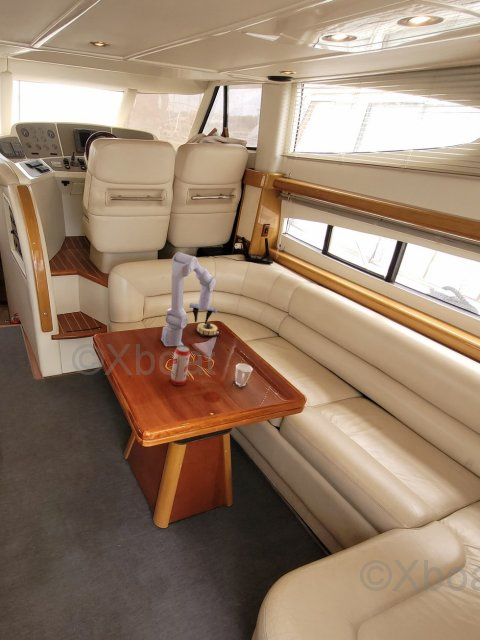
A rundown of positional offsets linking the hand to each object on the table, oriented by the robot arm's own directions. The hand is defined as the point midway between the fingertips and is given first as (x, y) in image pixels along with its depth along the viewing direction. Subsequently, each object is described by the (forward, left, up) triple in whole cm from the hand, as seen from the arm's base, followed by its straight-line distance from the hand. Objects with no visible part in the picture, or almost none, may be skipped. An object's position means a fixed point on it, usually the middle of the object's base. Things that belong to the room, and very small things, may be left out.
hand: (200, 322), depth 204 cm
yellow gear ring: (+3, -2, -4) cm, 6 cm away
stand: (+4, -2, -5) cm, 7 cm away
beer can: (-28, -46, -5) cm, 55 cm away
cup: (-2, -52, -5) cm, 53 cm away
